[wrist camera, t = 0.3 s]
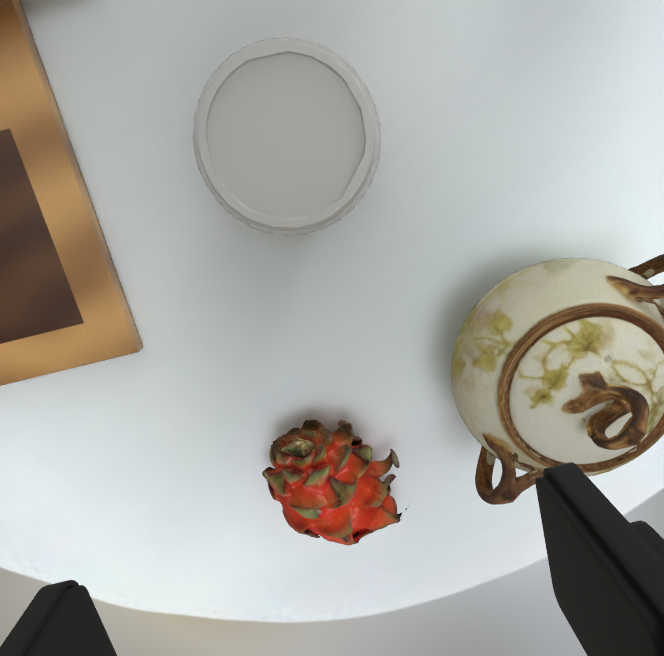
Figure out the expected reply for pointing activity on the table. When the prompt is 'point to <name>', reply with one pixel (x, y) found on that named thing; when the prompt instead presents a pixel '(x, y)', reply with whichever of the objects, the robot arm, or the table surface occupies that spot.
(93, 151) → the table surface
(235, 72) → the disposable coffee cup
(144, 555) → the table surface
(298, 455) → the dragon fruit
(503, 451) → the sugar bowl
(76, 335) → the board
